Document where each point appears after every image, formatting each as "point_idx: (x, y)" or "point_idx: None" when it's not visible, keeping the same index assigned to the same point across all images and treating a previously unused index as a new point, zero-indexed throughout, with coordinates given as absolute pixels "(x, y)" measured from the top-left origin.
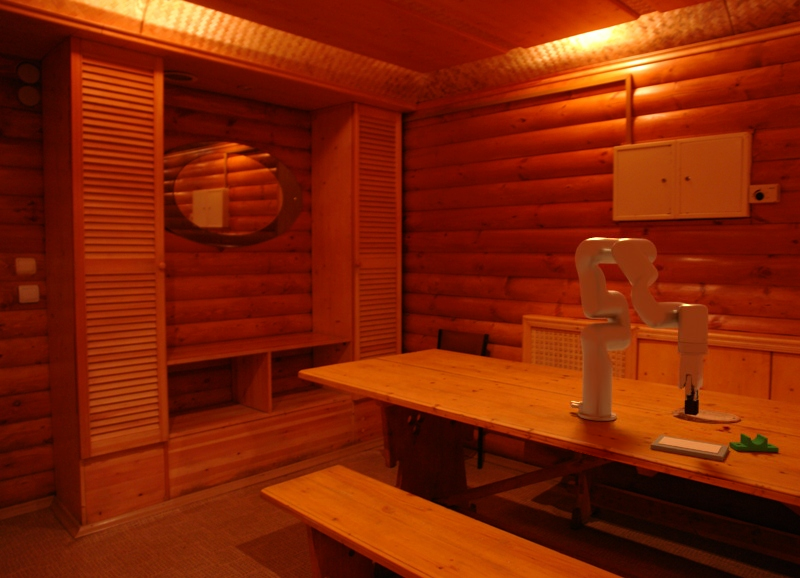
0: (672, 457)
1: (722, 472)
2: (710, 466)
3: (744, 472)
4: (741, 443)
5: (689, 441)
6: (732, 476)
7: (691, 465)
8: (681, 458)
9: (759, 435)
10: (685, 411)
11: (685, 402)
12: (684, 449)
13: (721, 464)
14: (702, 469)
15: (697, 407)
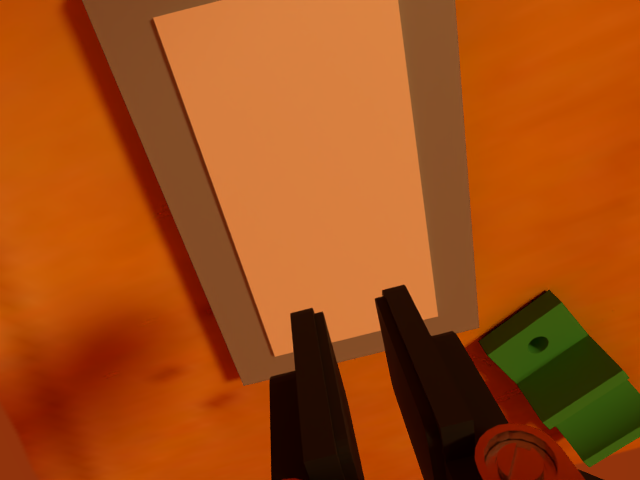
0: (54, 191)
1: (76, 428)
2: (108, 371)
3: (167, 465)
4: (567, 345)
5: (395, 162)
6: (65, 464)
7: (26, 318)
8: (91, 233)
9: (633, 429)
10: (294, 336)
11: (301, 434)
12: (192, 216)
13: (190, 383)
14: (22, 371)
15: (412, 445)
